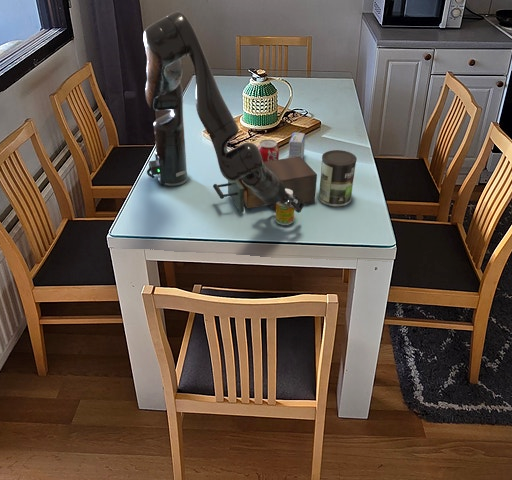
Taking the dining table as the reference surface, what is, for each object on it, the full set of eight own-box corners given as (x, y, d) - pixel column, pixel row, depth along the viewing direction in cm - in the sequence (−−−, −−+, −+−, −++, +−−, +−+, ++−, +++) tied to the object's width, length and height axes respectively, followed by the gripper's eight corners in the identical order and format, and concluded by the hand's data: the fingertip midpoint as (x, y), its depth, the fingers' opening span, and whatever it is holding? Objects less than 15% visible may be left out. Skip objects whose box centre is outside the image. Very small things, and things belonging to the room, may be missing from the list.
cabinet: (273, 210, 173) (274, 181, 167) (258, 190, 183) (259, 162, 177) (314, 202, 177) (317, 174, 171) (298, 183, 187) (300, 156, 181)
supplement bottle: (277, 226, 166) (278, 197, 160) (273, 216, 170) (275, 187, 165) (295, 225, 167) (297, 195, 161) (291, 215, 171) (293, 186, 165)
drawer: (222, 215, 169) (222, 192, 164) (211, 196, 177) (210, 173, 172) (279, 205, 174) (280, 182, 169) (265, 187, 182) (266, 165, 178)
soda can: (262, 183, 186) (263, 149, 179) (252, 174, 191) (253, 141, 184) (281, 179, 189) (283, 145, 182) (271, 170, 194) (272, 137, 187)
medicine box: (300, 166, 197) (302, 142, 191) (288, 164, 197) (289, 141, 192) (304, 156, 203) (305, 133, 197) (291, 154, 203) (292, 131, 198)
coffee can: (356, 195, 181) (362, 155, 172) (342, 210, 174) (347, 168, 165) (327, 187, 185) (331, 146, 177) (312, 200, 178) (316, 159, 170)
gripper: (238, 190, 155) (261, 209, 169) (283, 206, 149) (303, 224, 163) (250, 165, 155) (272, 186, 170) (294, 180, 149) (313, 200, 163)
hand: (287, 205), depth 166 cm, fingers open, 8 cm apart
